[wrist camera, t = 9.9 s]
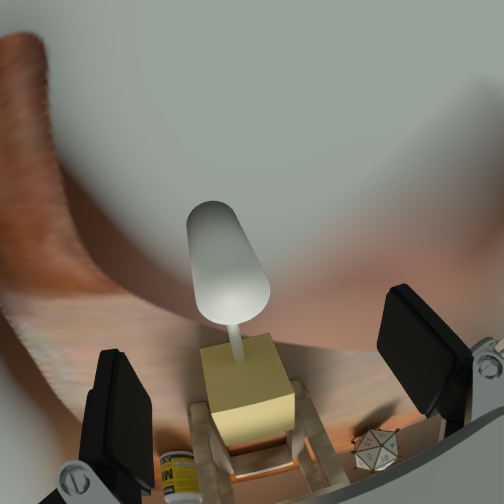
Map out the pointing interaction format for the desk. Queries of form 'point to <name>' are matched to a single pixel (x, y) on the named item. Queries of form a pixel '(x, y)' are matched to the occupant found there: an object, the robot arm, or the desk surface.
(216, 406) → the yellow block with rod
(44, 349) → the desk surface
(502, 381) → the robot arm
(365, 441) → the game die
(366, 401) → the desk surface
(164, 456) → the supplement bottle
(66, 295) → the desk surface
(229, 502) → the birch shelf
